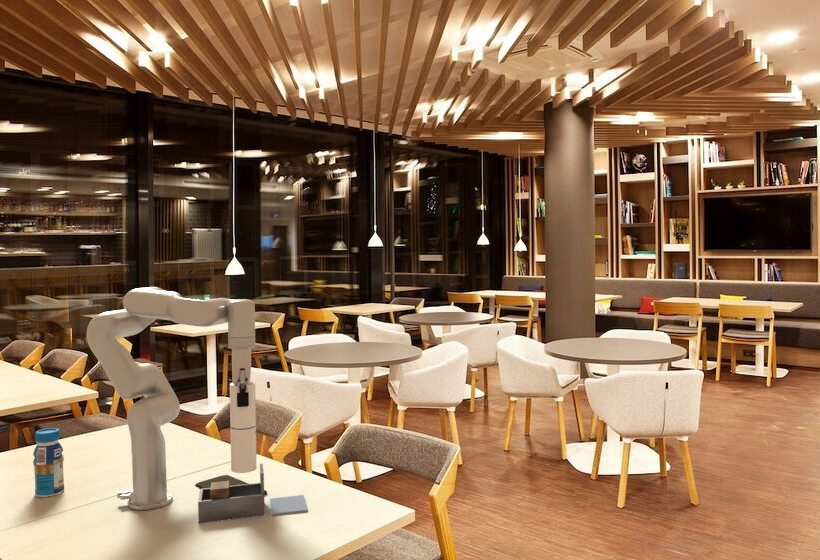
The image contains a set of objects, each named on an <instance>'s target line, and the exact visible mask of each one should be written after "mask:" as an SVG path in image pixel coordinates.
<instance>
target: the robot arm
mask: <svg viewBox="0 0 820 560" xmlns="http://www.w3.org/2000/svg"><path fill="white" fill-rule="evenodd" d="M122 302H123V303H122V305H123V309H118V310H117V309H116V310H111V311H110V310H109V311H103V312H102V313H99V314H97V315H95V316H94V317H92V319H91V320H90V321H89V323H88V325H87V328H86V341H87V344H88V347H89V349H90V350H91V352H92V353H93V355H94V356H95V358H96V359H97V360H98V362H99V363H100V365H101V367H102V368H103V370H104V372H105V373H106V376H107V377H108V379H109V381H110V383H111V385H112V386H113V388H114V390H115V392H116V393H117V395H118V396H119V397H120V398H121V399H123V400H132V399H137V398H140V397H142V396H143V397H144V398H142V399H140V400H138V401H136V402H135V403H133V404H132V405H131V406H130V407H129V409H128V410H127V414H126V422H127V427H128V431H129V437H130V445H131V446H130V449H131V470H132V471H131V472H132V489H130V488H129V489H128V490H126V491H125V490H121V491H120V490H119V491H117V494H116V495H117V499H120V500H121V501H122V500H127V507H128V508H129V509H130V510H131V509H132V510H137V511H147V510H155V509H158V508H162V507H165V506H167V505H169V504H170V503H171V502H172V501H173V499H174V498H173V494H172V493H171V492H168V489H167V487H168V483H167V455H166V454H167V453H166V451H167V450H166V440H165V436H164V434H163V432H162V429H161V426H162V427H163V425H166V424H169V423H171V422H172V421H174V420H176V418H177V417H178V416H179V414H180V411H181V410H180V409H181V404H180V401H179V399H178V396H177V395H176V393H175V391H174V389H173V388H172V386H171V384H170V383H169V381H168V379H167V377H166V375H165V374H164V372H163V371H162V369H161V368H159V367H158V366H157V365H155V364H153V363H148V362H147V363H145V362H144V363H139V364H138V363H136V361H135V360H134V358H133V356H132V355H131V353H130V351H129V350H128V348H126V346H124V345H123V344H121V342H119V341H118V339H121V338H126V337H132V336H135V335H138V334H139V333H141V332H142V331H143V330H144V329H146V328H147V327H148V326H149V325H151V324H152V323H153V322H154V321H155V320H166V321H171V322H173V323H175V324H179V325H185V326H194V327H203V328H204V327H208V328H209V327H213V326H217V325H222V324H227V336H228V337H227V341H228V343H227V344H228V345H227V346H228V347H227V348H228V349H230V350H231V376H232V378H231V379H232V380H231V381H232V382H231V383H234V384H235V382H238V383H237V384H238V393H237V407H248V406H249V392H248V383H249V382H250V381H251V374H252V349H254V348H256V309H255V302H254V300H252V299H246V298H241V299H240V298H238V299H233V298H232V299H231V298H227V297H218V298H210V299H193V298H185V297H182V295H181V294H180V293H179V292H176V291H170V290H169V291H168V290H164V289H162V288H161V287H157V286H149V287H147V286H146V287H138V288H134V289H131V290H129V291H128V292H126V294H125V295H124V297H123V301H122ZM239 381H240V382H239ZM247 381H248V382H247Z"/></svg>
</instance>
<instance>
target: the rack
mask: <svg viewBox="0 0 820 560" xmlns="http://www.w3.org/2000/svg"><path fill="white" fill-rule="evenodd" d="M264 473H265V472H264V464H263V463H259V482H255V483H254V482H253V483H249V484H242V485H233V486H229V498H221V499H212V500H210V488H203V489H200V488H199V494H198V500H197V509H198V510H197V511H198V512H197V513H198V517H197V518H198V524H203V523H213V522H221V520H223V521H230V520H229V519H231V520H239V518H240V519H247V518H248V517H249V518H255V517H256V516H257V517H265V516H266V513H265V512H266V508H265V507H266V506H265V505H266V504H265V501H266V500H265V495H264V490H265V476H264V475H265V474H264ZM264 515H265V516H264ZM257 517H256V518H257Z"/></svg>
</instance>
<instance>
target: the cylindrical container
mask: <svg viewBox="0 0 820 560" xmlns="http://www.w3.org/2000/svg"><path fill="white" fill-rule="evenodd" d="M239 382H240V381H239ZM247 382H248V381H247ZM237 383H238V381H237V382H235V384H234V383H232V382H229V413H230V414H229V415H230V471H231V472H232V473H236V474H247V473H250V472H251V473H252V472H254V471H255V470H257V421H256V420H257V419H256V418H257V416H256V415H257V414H256V413H257V412H256V410H257V408H256V403H257V402H256V401H257V400H256V382H255V381H252V380H250V382H249V383H248V392H249V406H248V407H237V393H238V384H237Z"/></svg>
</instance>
